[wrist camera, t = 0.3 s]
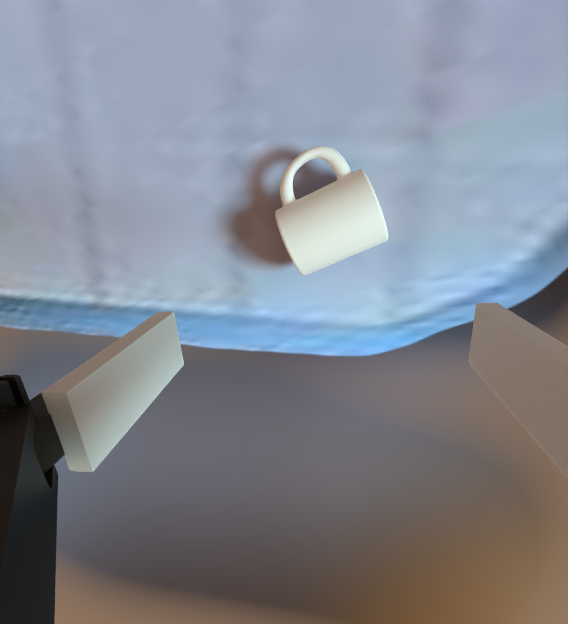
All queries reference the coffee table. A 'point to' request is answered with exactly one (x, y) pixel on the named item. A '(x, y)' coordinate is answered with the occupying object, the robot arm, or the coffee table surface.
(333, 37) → the coffee table surface
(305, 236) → the mug
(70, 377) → the robot arm
